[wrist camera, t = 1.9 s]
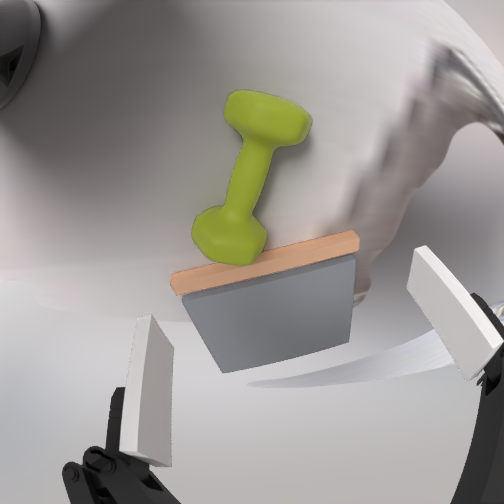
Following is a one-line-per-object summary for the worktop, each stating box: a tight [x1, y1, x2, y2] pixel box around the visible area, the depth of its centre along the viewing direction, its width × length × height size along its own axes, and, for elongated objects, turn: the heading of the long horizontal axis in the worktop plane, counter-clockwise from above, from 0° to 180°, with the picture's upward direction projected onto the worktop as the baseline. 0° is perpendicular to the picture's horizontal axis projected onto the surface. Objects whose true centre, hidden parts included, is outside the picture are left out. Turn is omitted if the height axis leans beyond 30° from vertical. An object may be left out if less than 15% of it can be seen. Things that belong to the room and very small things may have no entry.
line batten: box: [170, 230, 359, 295], centre depth 34 cm, size 2×24×2 cm, turn 101°
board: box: [182, 254, 356, 373], centre depth 42 cm, size 20×24×1 cm
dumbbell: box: [191, 90, 312, 266], centre depth 25 cm, size 16×8×7 cm, turn 162°
